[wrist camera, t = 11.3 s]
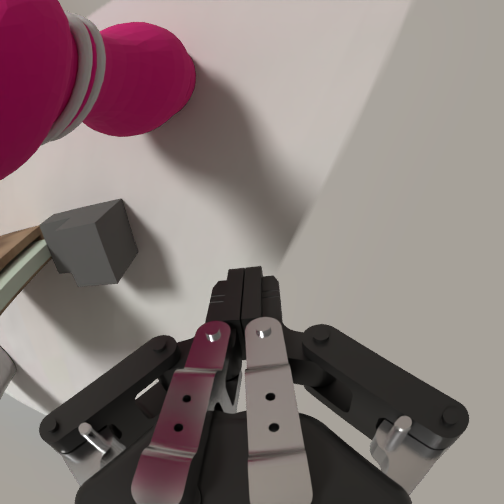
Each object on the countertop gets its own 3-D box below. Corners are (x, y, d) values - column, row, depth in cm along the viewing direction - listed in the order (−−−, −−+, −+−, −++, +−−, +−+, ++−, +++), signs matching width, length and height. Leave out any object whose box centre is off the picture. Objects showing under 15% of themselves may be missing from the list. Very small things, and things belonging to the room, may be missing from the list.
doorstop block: (71, 259, 26) (46, 289, 21) (53, 213, 23) (23, 238, 19) (138, 250, 25) (117, 283, 21) (122, 197, 23) (94, 222, 18)
